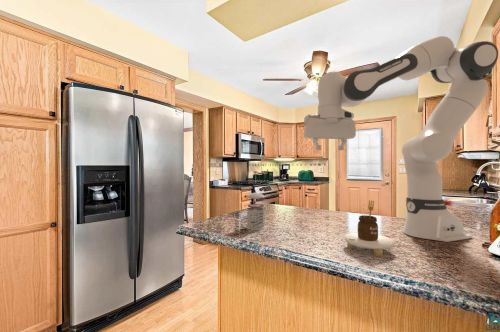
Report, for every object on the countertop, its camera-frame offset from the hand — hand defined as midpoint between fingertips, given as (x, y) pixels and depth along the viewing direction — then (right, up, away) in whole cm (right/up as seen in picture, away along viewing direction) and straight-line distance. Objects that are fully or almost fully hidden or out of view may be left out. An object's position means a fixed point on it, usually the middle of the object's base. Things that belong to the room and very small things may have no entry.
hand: (329, 150), depth 95 cm
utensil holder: (+7, -30, -17) cm, 35 cm away
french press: (-28, -33, +12) cm, 45 cm away
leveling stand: (+7, -33, -17) cm, 38 cm away
